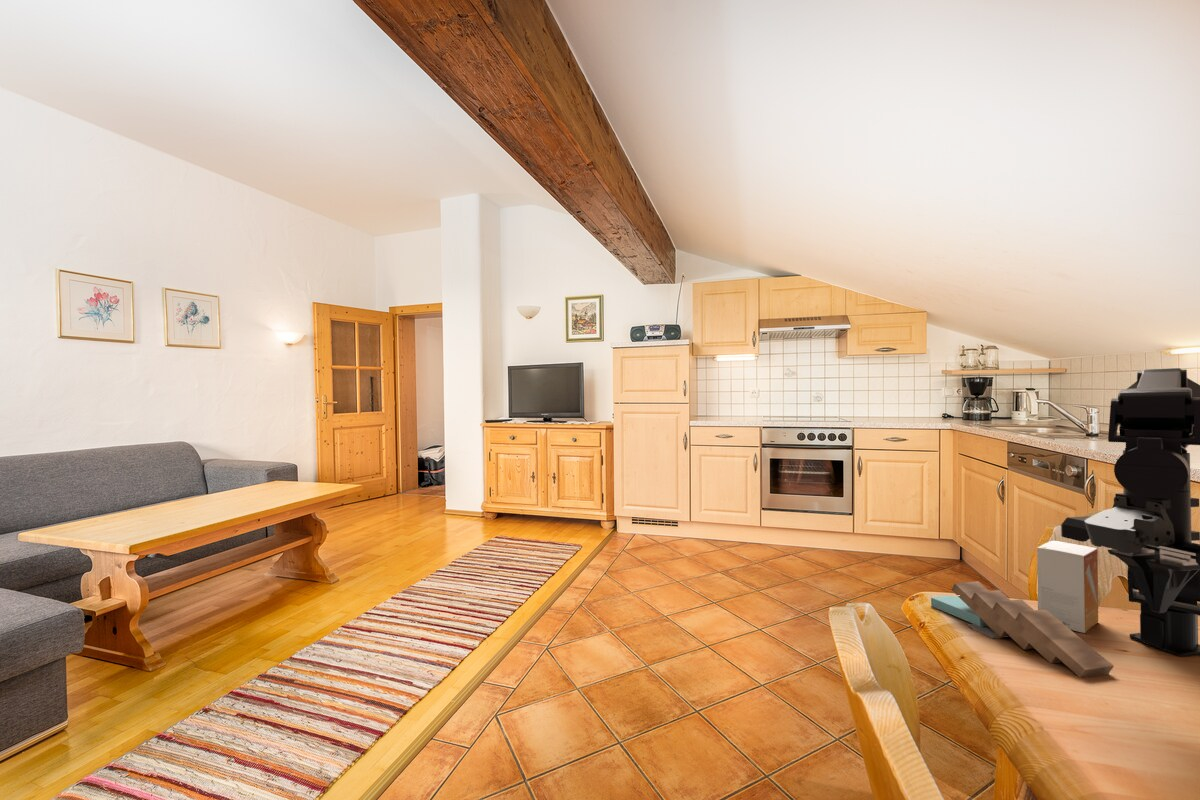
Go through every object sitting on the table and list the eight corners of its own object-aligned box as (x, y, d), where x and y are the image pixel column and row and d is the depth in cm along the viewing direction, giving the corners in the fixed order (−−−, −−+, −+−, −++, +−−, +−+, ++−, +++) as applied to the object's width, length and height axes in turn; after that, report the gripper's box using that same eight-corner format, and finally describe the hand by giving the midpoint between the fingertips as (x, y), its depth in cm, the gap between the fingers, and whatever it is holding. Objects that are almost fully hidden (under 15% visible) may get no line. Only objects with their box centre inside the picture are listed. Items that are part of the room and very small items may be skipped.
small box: (1085, 634, 83) (1084, 555, 83) (1036, 621, 88) (1035, 546, 88) (1100, 622, 87) (1098, 547, 87) (1052, 610, 93) (1051, 539, 93)
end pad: (1003, 623, 87) (1003, 620, 87) (1028, 634, 83) (1028, 632, 83) (968, 626, 86) (968, 624, 86) (992, 638, 82) (992, 635, 82)
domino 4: (1078, 659, 75) (1017, 606, 84) (1083, 652, 74) (1021, 599, 83) (1050, 663, 74) (992, 608, 83) (1055, 655, 73) (996, 601, 82)
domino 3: (1050, 646, 79) (995, 596, 88) (1055, 639, 78) (999, 589, 87) (1024, 649, 78) (971, 599, 87) (1028, 642, 77) (974, 592, 86)
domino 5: (1108, 673, 71) (1041, 616, 80) (1114, 665, 70) (1045, 609, 79) (1079, 677, 70) (1015, 619, 79) (1085, 669, 69) (1019, 611, 78)
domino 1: (1004, 623, 86) (953, 603, 96) (1004, 614, 86) (953, 595, 96) (980, 626, 85) (931, 606, 95) (979, 616, 85) (930, 597, 95)
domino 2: (1025, 634, 83) (974, 587, 91) (1029, 627, 82) (978, 581, 91) (1000, 637, 82) (951, 589, 90) (1004, 630, 81) (954, 583, 90)
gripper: (1027, 479, 71) (1029, 589, 71) (1206, 505, 53) (1209, 653, 53) (1091, 477, 73) (1093, 584, 73) (1285, 500, 55) (1289, 644, 55)
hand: (1158, 611), depth 63 cm, fingers closed
